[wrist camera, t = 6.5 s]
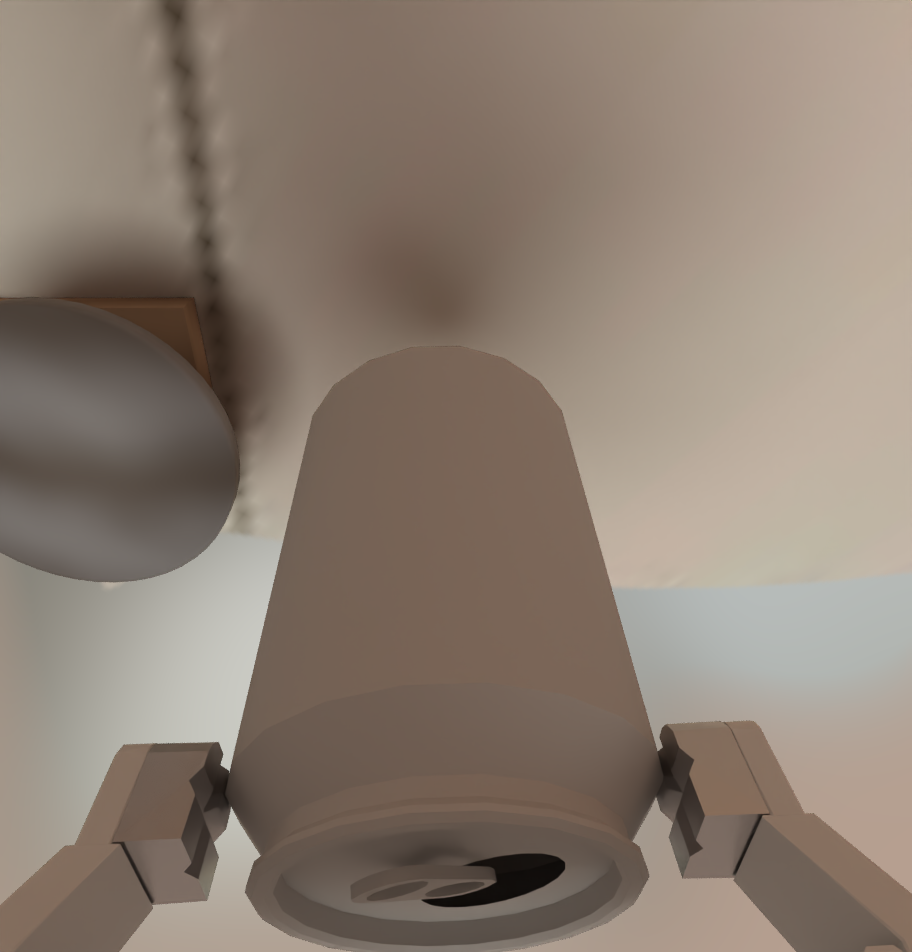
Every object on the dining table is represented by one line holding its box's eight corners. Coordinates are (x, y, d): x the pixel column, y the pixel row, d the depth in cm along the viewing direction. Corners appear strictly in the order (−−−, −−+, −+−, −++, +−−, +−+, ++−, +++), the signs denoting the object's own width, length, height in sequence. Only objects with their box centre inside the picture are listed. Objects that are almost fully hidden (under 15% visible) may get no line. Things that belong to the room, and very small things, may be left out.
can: (441, 564, 23) (451, 998, 13) (257, 447, 19) (100, 930, 10) (616, 439, 19) (787, 902, 10) (434, 269, 16) (446, 747, 7)
